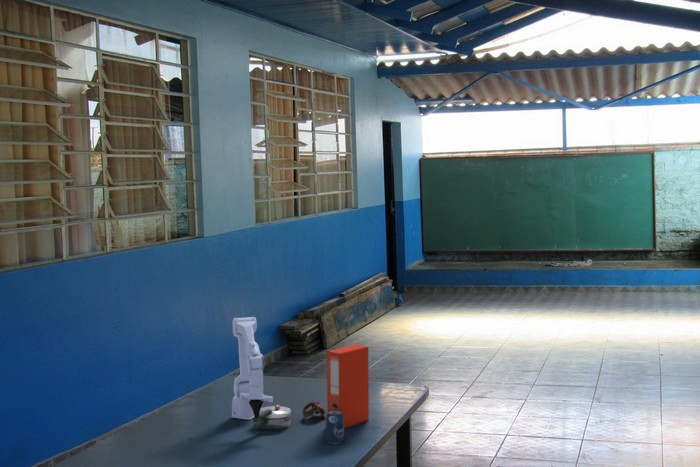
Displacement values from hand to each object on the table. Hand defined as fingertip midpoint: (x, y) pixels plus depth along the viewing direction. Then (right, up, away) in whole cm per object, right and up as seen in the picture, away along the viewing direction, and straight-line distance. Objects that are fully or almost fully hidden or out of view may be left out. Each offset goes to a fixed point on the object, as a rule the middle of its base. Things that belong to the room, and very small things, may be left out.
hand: (256, 417), depth 345 cm
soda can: (+32, -7, -12) cm, 35 cm away
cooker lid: (+4, -1, +6) cm, 8 cm away
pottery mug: (+23, -5, +20) cm, 31 cm away
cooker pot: (+5, -6, +8) cm, 11 cm away
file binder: (+38, -5, +12) cm, 40 cm away
